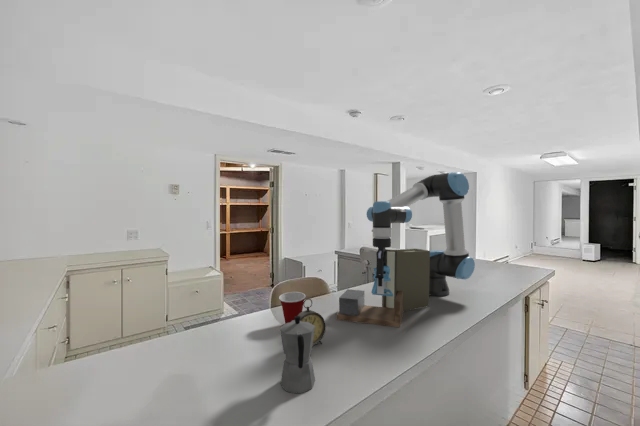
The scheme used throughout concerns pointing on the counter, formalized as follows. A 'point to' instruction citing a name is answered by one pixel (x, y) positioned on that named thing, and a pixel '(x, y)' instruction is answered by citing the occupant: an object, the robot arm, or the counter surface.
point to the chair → (386, 278)
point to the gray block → (351, 302)
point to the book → (408, 278)
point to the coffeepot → (297, 356)
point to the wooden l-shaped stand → (379, 314)
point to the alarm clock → (314, 323)
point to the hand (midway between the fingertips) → (381, 291)
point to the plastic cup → (292, 304)
